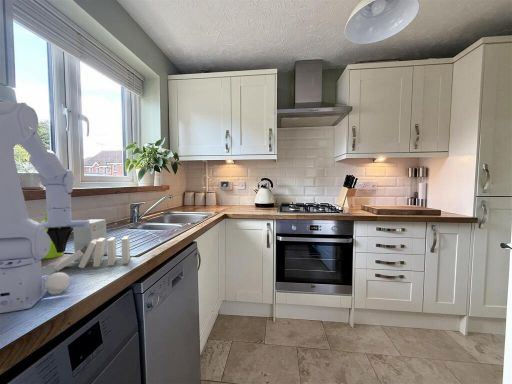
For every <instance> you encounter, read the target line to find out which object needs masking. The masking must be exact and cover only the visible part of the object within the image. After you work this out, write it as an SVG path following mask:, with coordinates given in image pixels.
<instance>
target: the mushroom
mask: <svg viewBox="0 0 512 384" xmlns="http://www.w3.org/2000/svg"><path fill="white" fill-rule="evenodd" d="M70 282H71V278H70V276H69V275H68V273H62V272H57V273H54V274H51V275H47V277H46V278H45V279H44V281H43V283H42V286H44V288H48V292H47V293H49V294H50V295H54V296H55V295H59V294H62V293H63V292H64V290H66V289H67V288H68V287H69V285H70Z"/></svg>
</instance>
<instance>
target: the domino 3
mask: <svg viewBox="0 0 512 384" xmlns="http://www.w3.org/2000/svg"><path fill="white" fill-rule="evenodd" d="M105 240H106V238H99V239H98V240H97V241H96V247H95V255H94V259H93V261H94V263H93V267H99V266H100V265H101V263H102V262H103V260H104V256H105V254H104V248H105Z"/></svg>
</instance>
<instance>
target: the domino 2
mask: <svg viewBox="0 0 512 384" xmlns="http://www.w3.org/2000/svg"><path fill="white" fill-rule="evenodd" d="M96 241H97V239H94V240H92V241H91V242H90V244H89V246H88V248H87V250H86V252H85V254H84V256H83V258H82V260H80V261H79V262H80V264H79V266H78V267H81V268H85V266H86V265H87V264H88V263H89V261H91V260H90V259H91V257H92V255H93V253H94V251H95V247H96Z"/></svg>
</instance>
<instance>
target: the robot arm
mask: <svg viewBox="0 0 512 384" xmlns="http://www.w3.org/2000/svg"><path fill="white" fill-rule="evenodd" d="M38 129H39V118H38V115H37V112H36V110H35V109H34V108H33V106H31V105H30V104H29V103H28V102H11V101H0V314H3V313H9V312H16V311H22V310H27V309H28V310H29V309H31V308H33V306H35V305H36V304H37V303H38V302H39V301H40V300H42V298H43V297H44V296H45V295H46V294H47V293H49V292H48V288H46V287H44V288H43V276H42V269H43V268H42V259H45V258H44V257H45V256H46V255H47V254H48V252H49V250H50V246H51V240H52V242H53V243H54V245H55V248H56V251H57V253H62V252H64V253H65V251H66V247H67V245H68V240H69V238H70V236H71V234H72V232H73V228H75V227H89V220H90V219H87V220H85V219H84V220H83V219H82V220H81V219H77V220H76V219H75V220H72V219H73V218H72V192H73V191H74V189H73V186H74V182H75V177H74V173H73V171H72V170H70V169H69V168H66V167H64V165H63V164H62V162H61V160H60V159H59V158H58V156H57V154H56V152H54V151H53V150H49V149H48V148H47V147H46V145H45V143H44V142H43V140H42V138H41V136H40V135H39V133H38ZM17 145H20V146H21V147H22V149H24V150H25V151H26V152H27V153H28V154H29V159H28V161H29V163H30V164H31V165H32V167H33V168H34V169H35V170H36V171H37V173H38V174H37V175H38V177H39V180H40V184H41V186H42V187H45V197H46V198H45V199H46V200H45V205H46V211H47V222H41V221H40V222H39V221H36V220H35V219H32V218H31V217H29V211H28V208H27V204H26V201H25V196H24V191H23V189H22V185H21V181H20V176H19V173H18V169H17V164H16V161H15V155H14V152H13V149H14V148H15V146H17ZM56 226H60V227H56ZM45 229H48V231H47V232H46V230H45ZM50 239H51V240H50Z"/></svg>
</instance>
